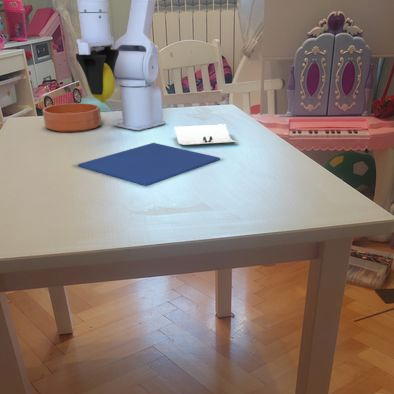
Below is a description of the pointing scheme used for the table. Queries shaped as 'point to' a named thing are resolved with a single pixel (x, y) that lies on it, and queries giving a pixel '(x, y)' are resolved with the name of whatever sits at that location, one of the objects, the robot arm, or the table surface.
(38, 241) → the table surface
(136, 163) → the cloth
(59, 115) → the bowl
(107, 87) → the lemon
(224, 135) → the white square plate
